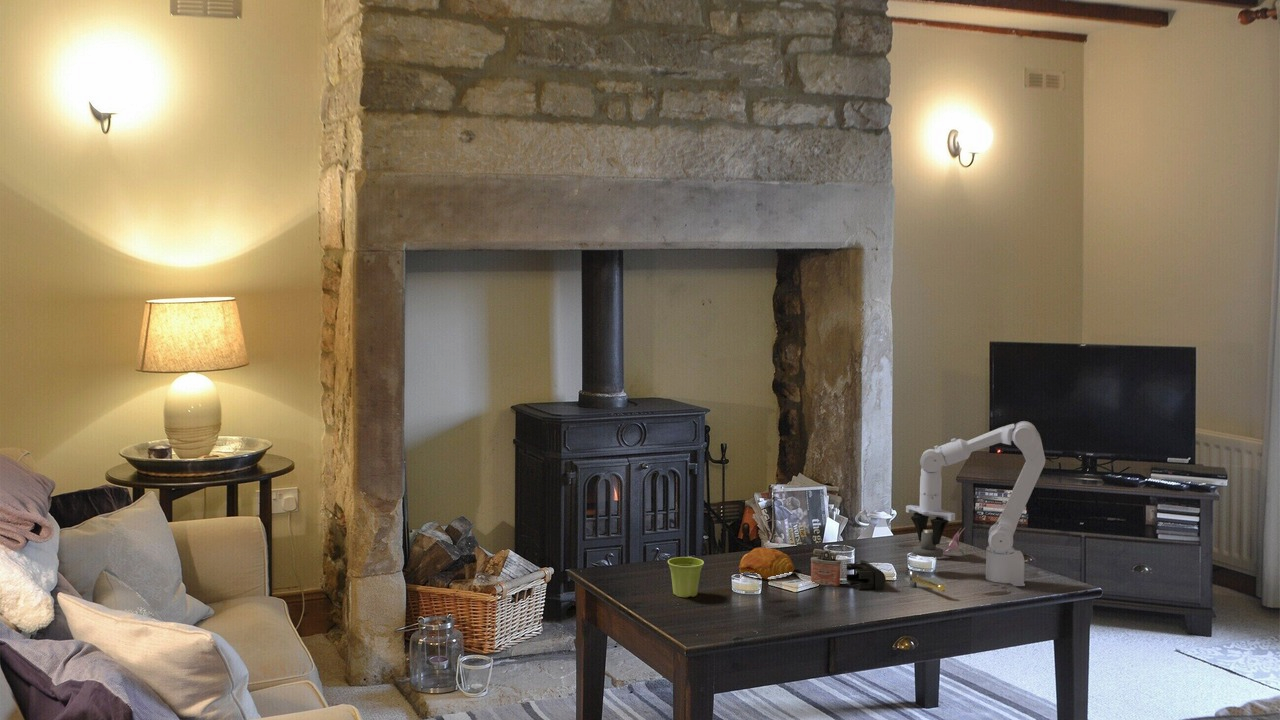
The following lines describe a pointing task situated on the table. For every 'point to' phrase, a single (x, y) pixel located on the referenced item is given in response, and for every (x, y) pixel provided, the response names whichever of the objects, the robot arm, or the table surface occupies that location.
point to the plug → (927, 546)
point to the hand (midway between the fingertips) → (929, 542)
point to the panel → (933, 580)
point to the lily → (954, 543)
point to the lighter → (825, 568)
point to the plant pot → (685, 575)
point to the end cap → (866, 576)
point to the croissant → (766, 562)
